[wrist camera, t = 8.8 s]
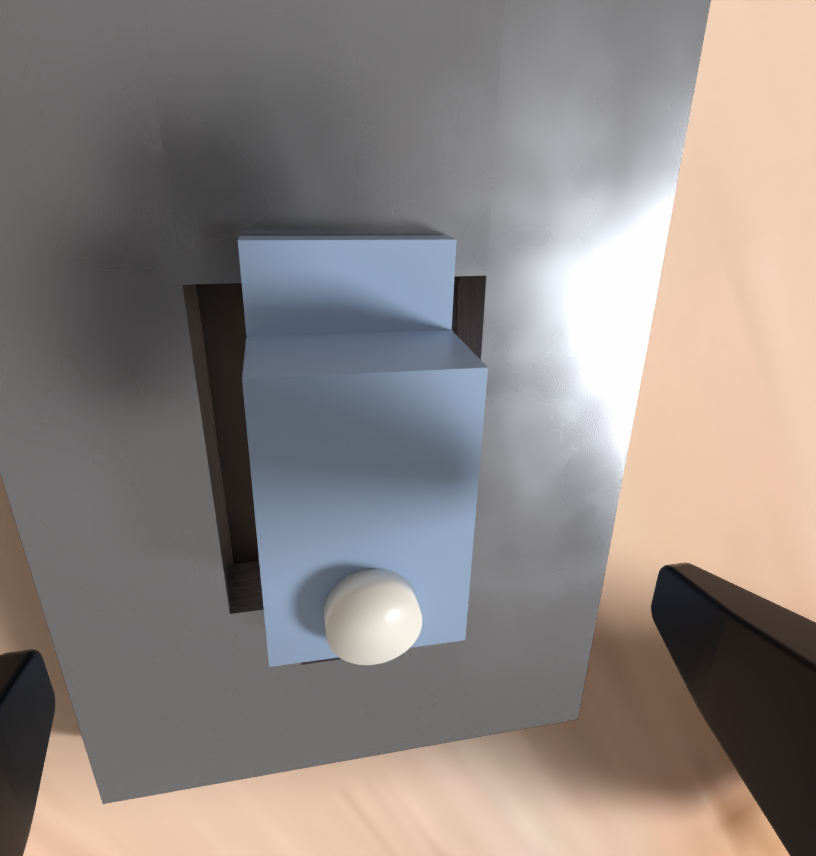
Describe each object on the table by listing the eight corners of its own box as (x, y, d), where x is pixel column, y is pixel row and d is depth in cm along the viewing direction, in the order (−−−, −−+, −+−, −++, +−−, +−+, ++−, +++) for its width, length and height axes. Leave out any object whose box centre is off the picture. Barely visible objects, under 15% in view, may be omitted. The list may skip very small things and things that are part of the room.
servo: (424, 222, 14) (510, 267, 9) (412, 562, 18) (467, 723, 13) (243, 222, 13) (228, 271, 8) (273, 577, 17) (274, 755, 12)
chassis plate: (-113, -103, 10) (-194, -155, 8) (660, -44, 13) (724, -74, 11) (118, 740, 19) (102, 803, 17) (551, 670, 21) (577, 719, 19)
